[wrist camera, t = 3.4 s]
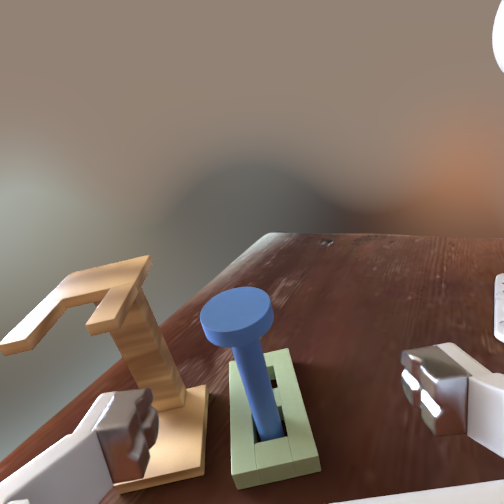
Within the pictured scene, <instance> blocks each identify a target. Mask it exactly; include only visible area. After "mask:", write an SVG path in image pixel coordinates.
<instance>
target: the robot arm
mask: <svg viewBox="0 0 504 504" xmlns="http://www.w3.org/2000/svg"><path fill="white" fill-rule="evenodd" d="M492 39H493V42H492V43H493V51H494V55H495V58H496V61H497V63H498V65H499V67H500V69H501V70H502V71H503V72H504V0H502V1H501V3H500V6H499V9H498V11H497V14H496V18H495V22H494V26H493V35H492ZM494 335H495V337H496V338H497V339H498V340H500V341H502V342H503V343H504V273H502V274H499V275H497V276H496V280H495V306H494ZM401 363H402V364H403V366H404V367H405V370H404V371H403V373H402V374H401V378H402V386H403V389H404V392H405V395H406V397H407V399H408V400H409V402H410V403H411V405H412V406H413V407H415V408H416V409H418V410H420V411H422V419H423V421H424V422H425V423H426V425H427V426H428V427H429V429H430V430H431V431H432V433H433V434H434V435H435V437H443V436H452V435H461V434H467V436H469V437H471V438H472V439H474V440H475V441H477V442H479V443H480V444H482V445H483V446H485V447H487V448H488V449H490V450H491V451H493V452H494V453H496V454H498V455H499V456H501V457H502V458H504V374H501V373H492V372H490V371H489V370H488V369H486V368H485V367H484V366H482V365H481V364H480V363H479V362H477V361H476V360H475V359H473V358H472V357H471V356H469V355H468V354H467V353H465V352H464V351H463V350H462V349H460V348H459V347H458V346H456V345H455V344H453V343H450V342H449V343H444V344H438V345H434V346H429V347H423V348H416V349H410V350H404V351H402V352H401ZM153 399H154V398H153V394H152V391H151V389H149V388H141V389H132V390H124V391H118V392H110V393H103V394H101V395H99V397H98V398H97V400H96V401H95V402H94V404H93V405H92V407H91V408H90V410H89V411H88V412H87V414H86V415H85V417H84V418H83V420H82V421H81V422H80V424H79V425H78V427H77V428H76V430H75V431H74V432H73V434H71V435H66V436H65V437H64V438H62V439H61V440H59V441H58V442H57V443H55V444H54V445H53V446H51V447H50V448H48V449H47V450H46V451H44V452H43V453H41V454H40V455H39V456H37V457H36V458H34V459H33V460H32V461H30V462H29V463H27V464H26V465H25V466H23V467H22V468H20V469H19V470H18V471H16V472H15V473H13V474H12V475H11V476H9V477H8V478H6V479H5V480H4V481H2V482H1V483H0V504H98V503H99V502H100V501H101V500H102V499H103V497H104V496H105V495H106V494H107V493H108V492H109V490H110V489H111V488H112V487H113V484H116V483H122V482H127V481H133V480H139V479H143V478H144V475H145V472H146V469H147V466H148V463H149V461H150V458H151V456H150V452H149V450H150V449H151V448H152V447H153V446H154V445H155V443H156V440H157V437H158V432H159V416H158V412H157V410H156V409H155V408H154V407H153V406H151V404H152V401H153ZM330 504H504V480H497V481H489V482H482V483H475V484H468V485H461V486H454V487H447V488H439V489H432V490H425V491H418V492H410V493H403V494H396V495H388V496H381V497H374V498H366V499H359V500H352V501H344V502H337V503H330Z"/></svg>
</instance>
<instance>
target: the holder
mask: <svg viewBox="0 0 504 504" xmlns="http://www.w3.org/2000/svg"><path fill="white" fill-rule="evenodd" d="M263 355H264V358H265V362H266V366H267V370H268V374H269V377H270V380H274V379H276V380H277V385H278V388H274V389H273V393H274V397H275V400H276V404H277V408H278V412H279V416H280V420H281V421H283V420H285V425H286V429H287V434H288V436H286V437H282V438H277V439H273V440H269V441H264V442H260V443H258V441H257V432H256V424H255V420H254V417H253V414H252V411H251V408H250V405H249V402H248V399H247V395H246V392H245V389H244V386H243V383H242V380H241V377H240V373H239V370H238V367H237V364H236V361H230V362H229V379H230V426H231V473H232V477H233V480H234V482H235V485H236V487H237V489H238V490H240V489H244V488H249V487H253V486H258V485H262V484H267V483H271V482H276V481H280V480H284V479H289V478H293V477H297V476H302V475H306V474H311V473H315V472H320V471H321V466H320V461H319V456H318V452H317V449H316V445H315V442H314V438H313V434H312V431H311V427H310V424H309V420H308V417H307V413H306V410H305V406H304V403H303V399H302V396H301V392H300V389H299V385H298V382H297V378H296V374H295V371H294V367H293V364H292V360H291V357H290V353H289V350H288V348H287V349H282V350H278V351H273V352H269V353H265V354H263Z"/></svg>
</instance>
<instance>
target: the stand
mask: <svg viewBox="0 0 504 504" xmlns="http://www.w3.org/2000/svg"><path fill="white" fill-rule="evenodd" d="M152 264H153V261H152V259H151V256H150V255H146V256H142V257H138V258H134V259H129V260H125V261H121V262H117V263H112V264H108V265H104V266H99V267H96V268H91V269H87V270H82V271H78V272H74V273H71V274H69V275H68V276H67V278H65V279H64V280H63V281H62V282H61V283H60V284H59V285H58V286H57V287H56V288H55V289H54V290H53V291H52V292H51V293H50V294H49V295H48V296H47V297H46V298H45V299H44V300H43V301H42V302H41V303H40V304H39V305H38V306H37V307H36V308H35V309H34V310H33V311H32V312H31V313H30V314H29V315H28V316H26V317H25V318H24V319H23V320H22V321H21V322H20V323H19V324H18V325H17V326H16V327H15V328H14V329H13V330H12V331H11V332H10V333H9V334H8V335H7V336H6V337H5V338H4V339H3V340H2V341H1V342H0V351H1V352H2V353H3V355H4V356H7V355H11V354H16V353H20V352H24V351H29V350H33V349H34V348H35V347H36V345H37V344H38V343H39V342H40V341H41V339H42V338H43V337H44V336H45V335H46V333H47V332H48V331H49V330H50V329H51V327H52V326H53V325H54V324H55V323H56V322H57V320H58V319H59V318H60V317H61V315H62V314H63V313H64V312H65V311H66V310H67V308H70V307H74V306H79V305H83V304H88V303H92V302H94V304H95V306H96V308H97V309H96V310H95V312H94V313H93V315H92V316H91V318H90V319H89V320H88V322H87V324H86V325H85V326H86V328H87V329H88V331H89V333H90V334H91V336H93V335H98V334H102V333H106V332H110V334H111V336H112V338H113V340H114V342H115V344H116V345H117V347H118V349H119V351H120V353H121V355H122V357H123V359H124V360H125V362H126V364H127V366H128V368H129V370H130V372H131V374H132V375H133V377H134V379H135V381H136V383H137V385H138V387H139V389H141V388H149V389H151V391H152V394H153V398H154V399H153V401H152V404H151V406H153V407H154V408H155V409H156V410H157V412H158V416H159V432H158V437H157V440H156V443H155V445H154V446H153V447H152V448H151V449H150V450H149V452H150V456H151V458H150V461H149V463H148V466H147V469H146V472H145V475H144V478H143V479H139V480H133V481H127V482H122V483H116V484H113V488H114V489H115V490H116V492H117V493H118V494H122V493H127V492H131V491H136V490H140V489H144V488H149V487H153V486H158V485H162V484H166V483H171V482H175V481H180V480H184V479H188V478H193V477H197V476H202V475H204V468H205V450H206V433H207V415H208V397H209V392H208V389H207V387H206V385H202V386H198V387H193V388H189V389H186V388H185V385H184V383H183V381H182V379H181V376H180V374H179V372H178V370H177V367H176V365H175V363H174V360H173V358H172V356H171V354H170V351H169V349H168V347H167V345H166V342H165V340H164V338H163V335H162V333H161V331H160V329H159V326H158V324H157V322H156V320H155V317H154V315H153V313H152V310H151V308H150V306H149V304H148V301H147V299H146V297H145V295H144V292H143V290H142V288H141V286H142V284H143V282H144V280H145V278H146V276H147V274H148V272H149V270H150V268H151V266H152Z"/></svg>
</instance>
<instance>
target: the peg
mask: <svg viewBox="0 0 504 504" xmlns="http://www.w3.org/2000/svg"><path fill="white" fill-rule="evenodd" d="M273 319H274V314H273V310H272V305H271V301H270V298H269V296H268V294H267V293H266V292H264V291H263V290H261V289H258V288H254V287H239V288H234V289H230V290H227V291H224V292H222V293H220V294H218V295H216V296H215V297H213V298H212V299H210V300H209V301H208V302H207V303H206V304H205V306H204V307H203V308H202V310H201V313H200V321H201V324H202V327H203V330H204V332H205V335H206V337H207V339H208V340H209V341H210V342H211V343H213V344H215V345H217V346H221V347H231V348H232V352H233V355H234V358H235V361H236V364H237V367H238V370H239V373H240V377H241V380H242V383H243V386H244V389H245V392H246V395H247V399H248V402H249V405H250V408H251V411H252V414H253V417H254V420H255V424H256V427H257V430H258V433H259V436H260V439H261V442H264V441H269V440H273V439H277V438H282V437H285V435H284V431H283V427H282V423H281V420H280V416H279V412H278V408H277V404H276V400H275V397H274V393H273V389H272V385H271V381H270V377H269V374H268V370H267V366H266V362H265V358H264V355H263V351H262V347H261V343H260V339H259V338H260V337H262V336H263V335H264V334H265V333H266V332H267V331H268V330H269V329H270V327H271V325H272V323H273Z"/></svg>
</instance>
